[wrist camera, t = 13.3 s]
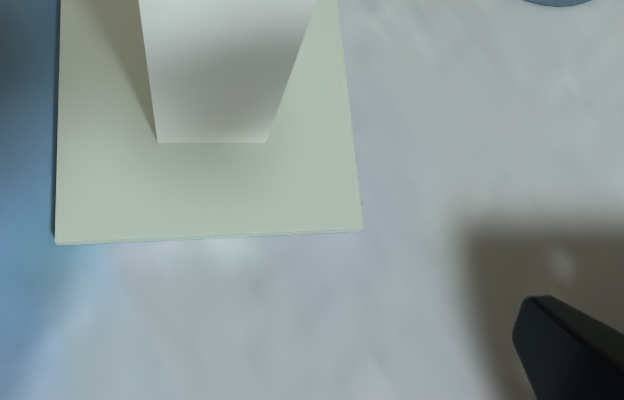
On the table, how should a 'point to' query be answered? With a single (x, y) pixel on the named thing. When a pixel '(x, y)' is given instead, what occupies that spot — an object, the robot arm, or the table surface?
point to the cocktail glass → (558, 2)
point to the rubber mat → (195, 144)
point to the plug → (220, 65)
